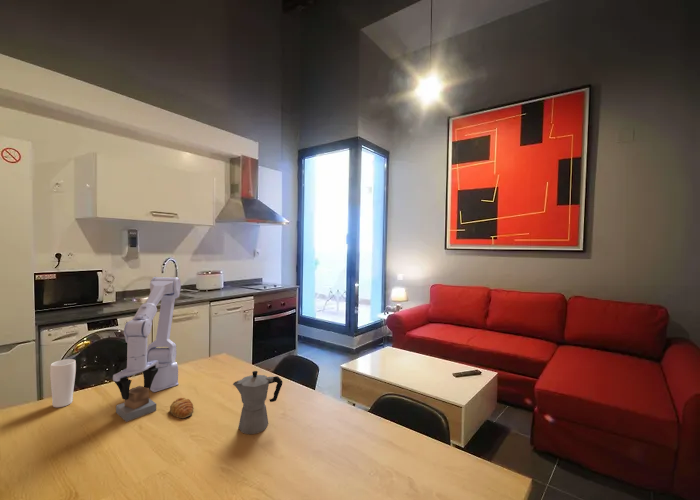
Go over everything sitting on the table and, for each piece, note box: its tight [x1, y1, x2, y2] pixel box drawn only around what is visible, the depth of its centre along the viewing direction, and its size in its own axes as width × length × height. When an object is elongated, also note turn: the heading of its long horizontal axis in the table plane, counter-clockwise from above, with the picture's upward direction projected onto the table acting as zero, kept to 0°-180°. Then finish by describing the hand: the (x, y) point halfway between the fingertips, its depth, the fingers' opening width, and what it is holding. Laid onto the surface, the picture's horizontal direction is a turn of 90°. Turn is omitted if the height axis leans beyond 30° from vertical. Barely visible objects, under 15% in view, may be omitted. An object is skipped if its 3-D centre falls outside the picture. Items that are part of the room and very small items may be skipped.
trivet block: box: [115, 398, 157, 423], centre depth 109 cm, size 9×9×3 cm
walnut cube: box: [124, 385, 150, 409], centre depth 109 cm, size 5×5×5 cm
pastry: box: [169, 397, 194, 419], centre depth 109 cm, size 9×7×4 cm
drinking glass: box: [49, 358, 77, 408], centre depth 112 cm, size 7×7×15 cm
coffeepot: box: [232, 370, 283, 435], centre depth 103 cm, size 15×9×18 cm, turn 107°
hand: (136, 393), depth 109 cm, fingers open, 7 cm apart
